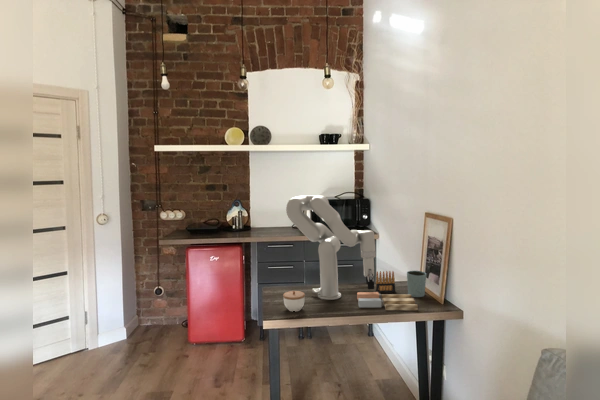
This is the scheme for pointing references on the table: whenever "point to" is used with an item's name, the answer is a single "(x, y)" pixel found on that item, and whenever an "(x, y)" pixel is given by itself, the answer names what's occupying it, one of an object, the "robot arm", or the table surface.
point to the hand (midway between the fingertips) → (370, 286)
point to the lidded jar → (294, 300)
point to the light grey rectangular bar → (370, 302)
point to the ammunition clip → (385, 282)
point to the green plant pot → (416, 283)
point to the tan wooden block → (368, 295)
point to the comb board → (399, 302)
